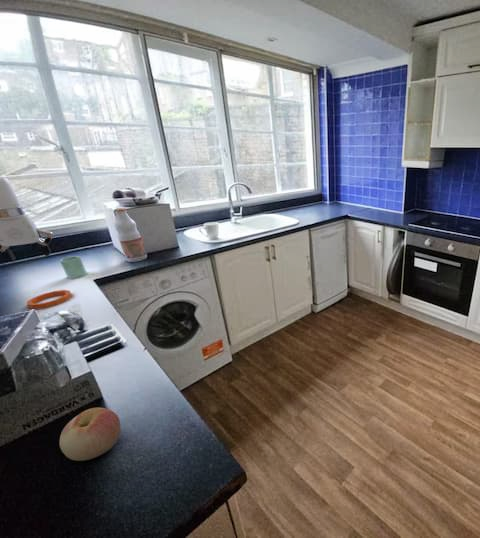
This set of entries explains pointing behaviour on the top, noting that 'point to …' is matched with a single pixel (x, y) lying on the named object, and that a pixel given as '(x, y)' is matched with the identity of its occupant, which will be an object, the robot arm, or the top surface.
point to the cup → (73, 267)
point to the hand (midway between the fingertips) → (31, 257)
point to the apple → (90, 434)
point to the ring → (62, 299)
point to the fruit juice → (129, 236)
